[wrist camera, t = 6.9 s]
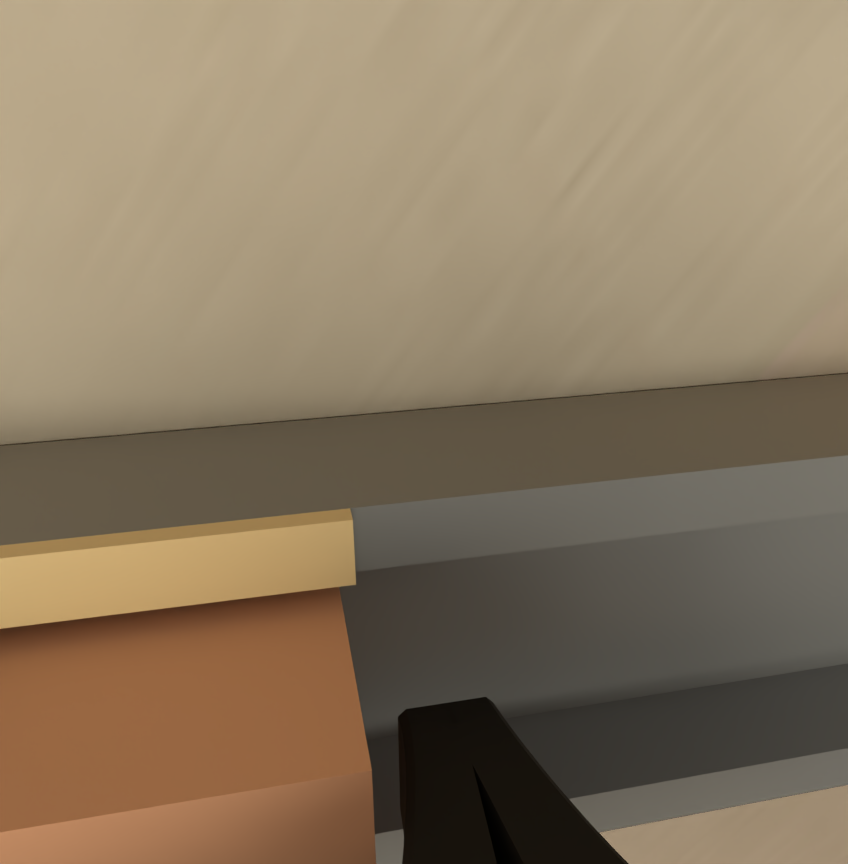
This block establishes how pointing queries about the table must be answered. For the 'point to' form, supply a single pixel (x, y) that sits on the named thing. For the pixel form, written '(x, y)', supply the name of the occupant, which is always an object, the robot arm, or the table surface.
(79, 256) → the table surface
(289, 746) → the block
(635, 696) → the trough
